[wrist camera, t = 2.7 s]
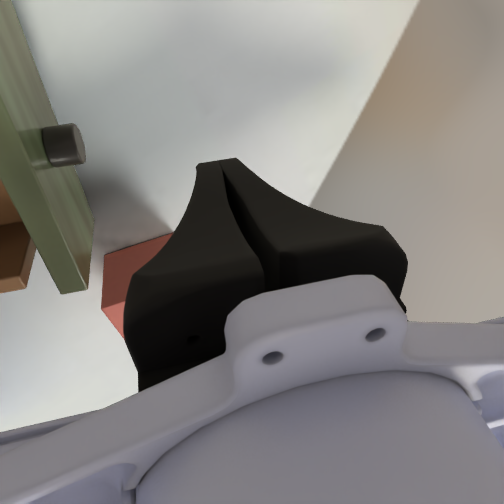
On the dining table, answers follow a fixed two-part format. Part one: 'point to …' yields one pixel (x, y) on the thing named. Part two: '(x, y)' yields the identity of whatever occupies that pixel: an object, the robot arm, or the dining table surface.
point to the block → (124, 276)
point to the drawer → (38, 175)
